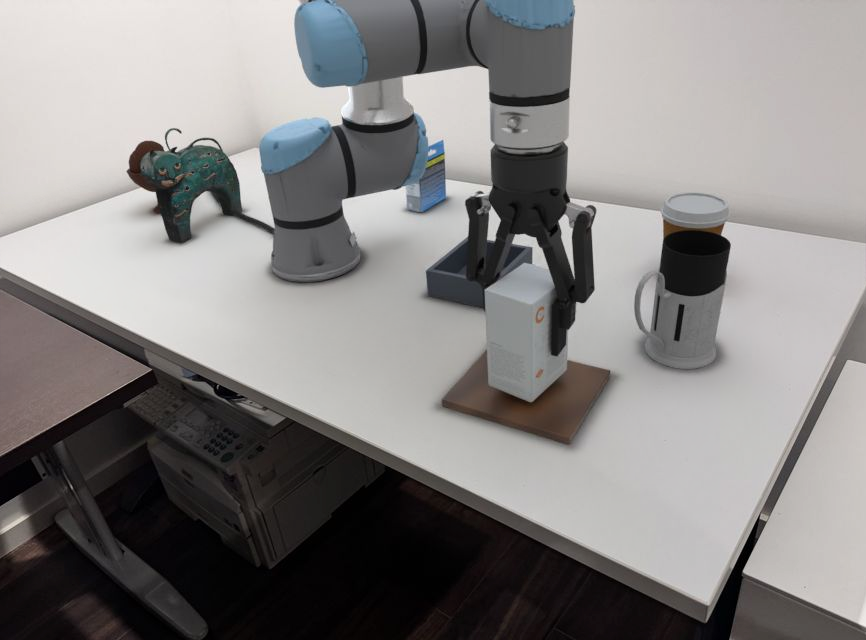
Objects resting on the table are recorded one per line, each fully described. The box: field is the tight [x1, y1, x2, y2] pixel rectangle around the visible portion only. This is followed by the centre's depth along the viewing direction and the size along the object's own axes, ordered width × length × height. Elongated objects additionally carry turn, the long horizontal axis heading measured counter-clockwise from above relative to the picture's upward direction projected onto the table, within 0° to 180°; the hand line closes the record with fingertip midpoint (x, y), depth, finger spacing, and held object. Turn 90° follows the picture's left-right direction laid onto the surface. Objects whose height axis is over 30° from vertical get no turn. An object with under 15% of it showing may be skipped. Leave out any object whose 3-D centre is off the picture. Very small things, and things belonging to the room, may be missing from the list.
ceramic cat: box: [140, 127, 243, 244], centre depth 130 cm, size 20×6×20 cm, turn 150°
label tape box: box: [405, 139, 447, 213], centre depth 133 cm, size 9×4×12 cm, turn 144°
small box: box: [484, 263, 569, 402], centre depth 77 cm, size 8×6×13 cm
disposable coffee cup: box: [660, 191, 731, 240], centre depth 100 cm, size 10×10×12 cm
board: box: [441, 349, 611, 445], centre depth 81 cm, size 16×14×1 cm
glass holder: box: [633, 230, 732, 370], centre depth 81 cm, size 9×14×15 cm, turn 125°
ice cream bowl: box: [126, 140, 165, 215], centre depth 141 cm, size 11×11×15 cm
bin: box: [425, 236, 534, 309], centre depth 105 cm, size 12×14×4 cm
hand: (527, 342), depth 77 cm, fingers closed on small box, 7 cm apart
